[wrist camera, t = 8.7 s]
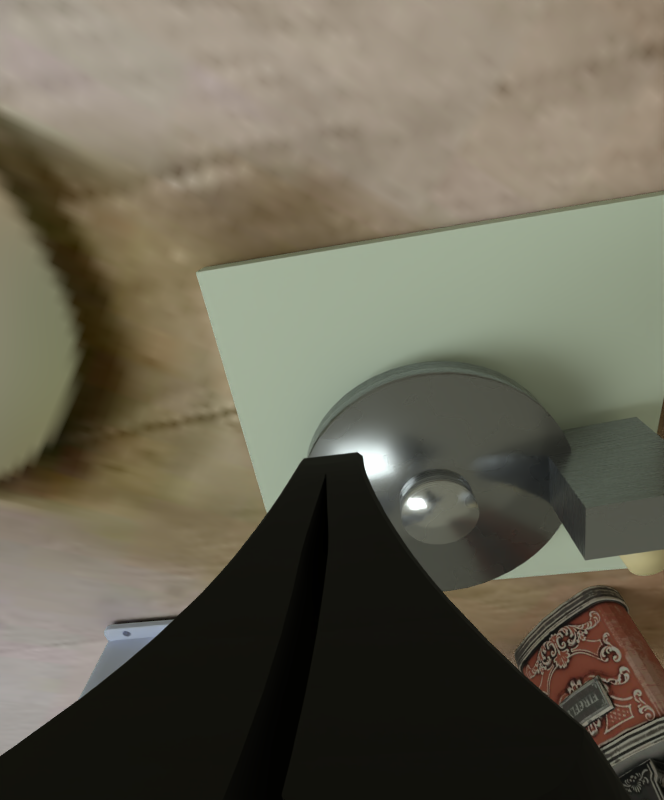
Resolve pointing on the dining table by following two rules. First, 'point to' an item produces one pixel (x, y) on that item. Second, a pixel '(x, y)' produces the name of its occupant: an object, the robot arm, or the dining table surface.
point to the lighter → (604, 683)
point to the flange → (494, 471)
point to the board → (453, 329)
